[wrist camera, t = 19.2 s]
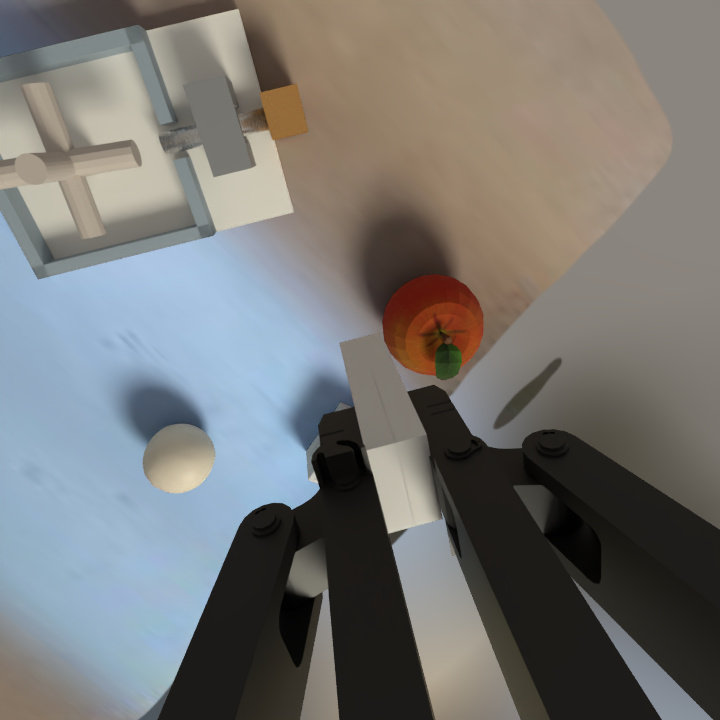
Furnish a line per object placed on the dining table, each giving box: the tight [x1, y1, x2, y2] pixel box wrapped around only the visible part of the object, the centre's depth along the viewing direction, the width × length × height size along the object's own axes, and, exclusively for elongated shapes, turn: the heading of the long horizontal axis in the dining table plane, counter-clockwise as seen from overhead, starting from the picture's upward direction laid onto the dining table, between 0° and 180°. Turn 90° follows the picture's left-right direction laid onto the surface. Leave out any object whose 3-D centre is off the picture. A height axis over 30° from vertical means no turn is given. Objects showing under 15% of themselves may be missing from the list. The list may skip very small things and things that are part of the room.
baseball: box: [143, 424, 215, 493], centre depth 48 cm, size 7×7×7 cm
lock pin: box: [158, 84, 308, 155], centre depth 37 cm, size 11×3×4 cm, turn 102°
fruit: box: [382, 274, 483, 380], centre depth 44 cm, size 10×10×10 cm
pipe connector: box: [0, 83, 142, 239], centre depth 33 cm, size 10×10×10 cm
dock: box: [0, 9, 294, 279], centre depth 37 cm, size 22×15×6 cm
